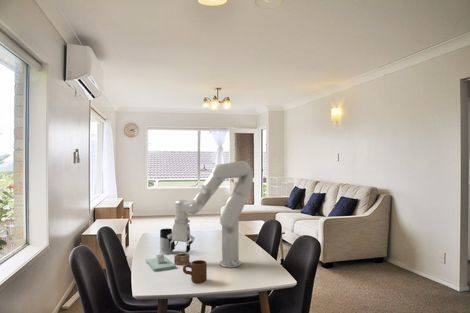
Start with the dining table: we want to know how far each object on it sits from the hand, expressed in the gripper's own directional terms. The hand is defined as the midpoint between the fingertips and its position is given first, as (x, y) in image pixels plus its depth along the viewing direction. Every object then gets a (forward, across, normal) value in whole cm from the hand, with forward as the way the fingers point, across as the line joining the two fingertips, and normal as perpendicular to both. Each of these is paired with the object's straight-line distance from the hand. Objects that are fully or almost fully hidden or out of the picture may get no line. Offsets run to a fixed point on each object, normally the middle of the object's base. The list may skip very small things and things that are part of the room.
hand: (180, 250), depth 204 cm
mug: (+7, -21, +25) cm, 34 cm away
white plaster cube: (+6, +9, +6) cm, 13 cm away
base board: (+8, +9, +6) cm, 14 cm away
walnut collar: (+7, -1, 0) cm, 7 cm away
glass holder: (+8, +16, -18) cm, 26 cm away
